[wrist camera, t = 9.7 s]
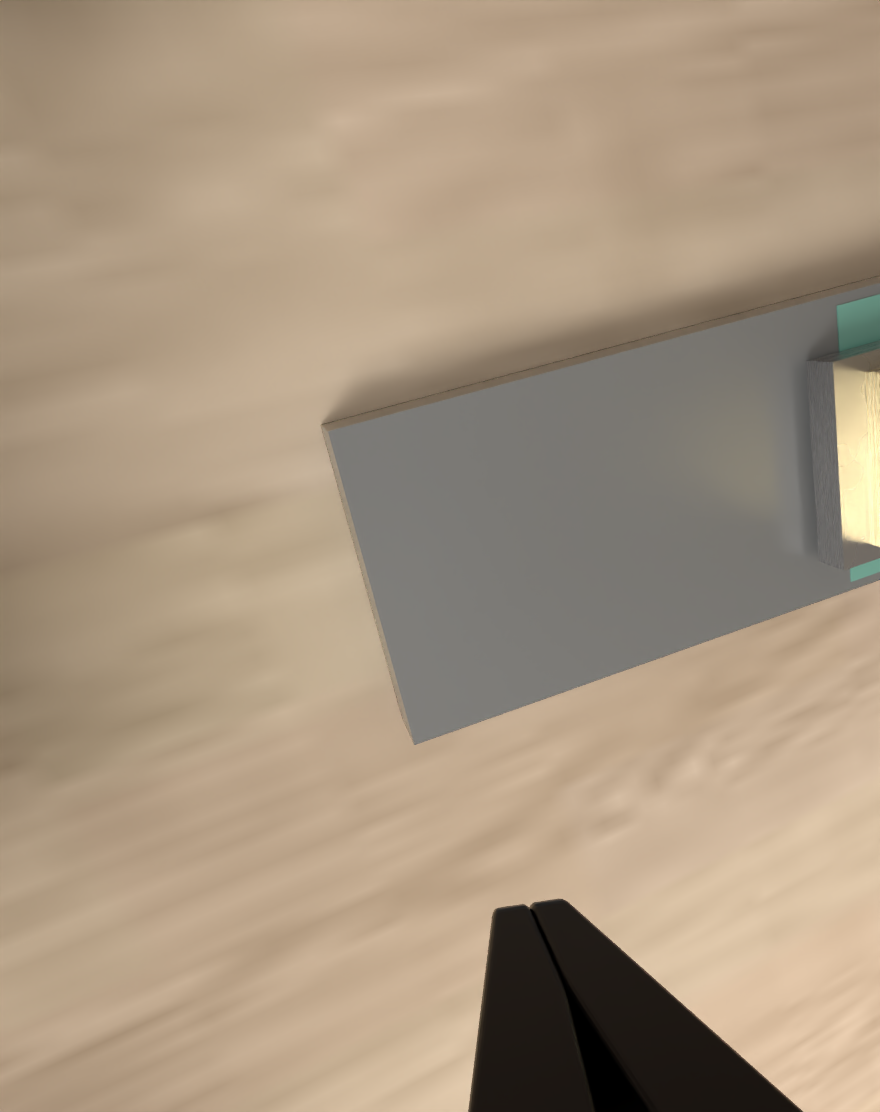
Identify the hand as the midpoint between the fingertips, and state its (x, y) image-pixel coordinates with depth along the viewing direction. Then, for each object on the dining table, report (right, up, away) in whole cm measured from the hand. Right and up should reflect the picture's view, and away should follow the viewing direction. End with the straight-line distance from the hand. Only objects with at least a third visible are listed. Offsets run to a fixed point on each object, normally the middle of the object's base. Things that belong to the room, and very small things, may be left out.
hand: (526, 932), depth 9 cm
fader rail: (+6, +6, +14) cm, 17 cm away
